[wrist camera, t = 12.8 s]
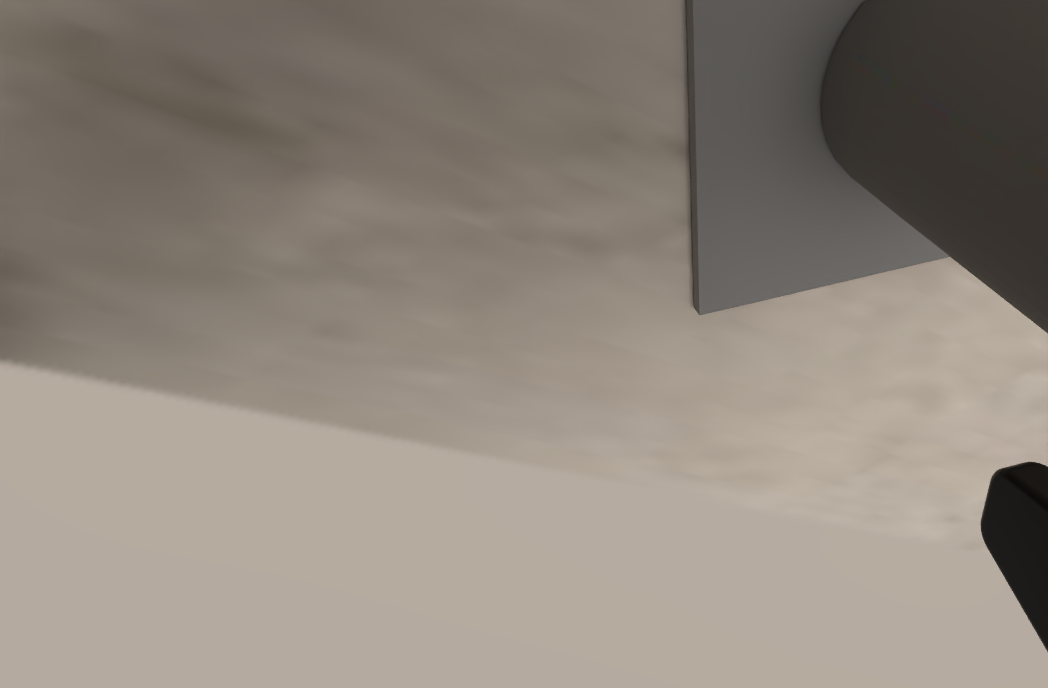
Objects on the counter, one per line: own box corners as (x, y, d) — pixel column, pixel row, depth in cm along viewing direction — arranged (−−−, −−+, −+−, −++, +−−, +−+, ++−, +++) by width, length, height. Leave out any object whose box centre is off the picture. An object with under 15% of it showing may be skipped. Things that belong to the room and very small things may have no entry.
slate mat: (693, 307, 24) (699, 315, 23) (681, -223, 17) (688, -223, 16) (1103, 211, 25) (1115, 218, 24) (1250, -322, 18) (1267, -323, 18)
